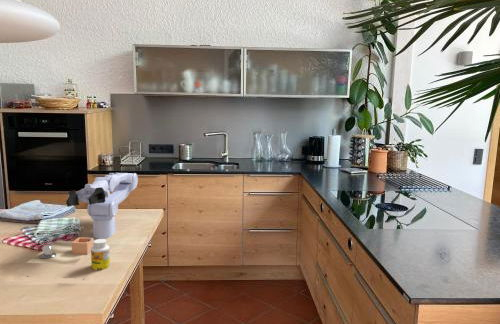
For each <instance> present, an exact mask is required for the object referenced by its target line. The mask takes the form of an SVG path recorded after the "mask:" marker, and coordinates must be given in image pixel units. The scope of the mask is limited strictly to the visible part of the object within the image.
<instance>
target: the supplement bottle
mask: <svg viewBox="0 0 500 324" xmlns="http://www.w3.org/2000/svg"><path fill="white" fill-rule="evenodd" d="M107 242H108V241H107V238H105V239H94V241H93V247H92V248H91V252H90V257H91V261H90V262H91V263H90V264H91V270H94V271H103V270H107V269H109V268H110V266H111V260H110V257H111V256H110V255H111V254H110V246H109V245H108V244H107Z"/></svg>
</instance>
